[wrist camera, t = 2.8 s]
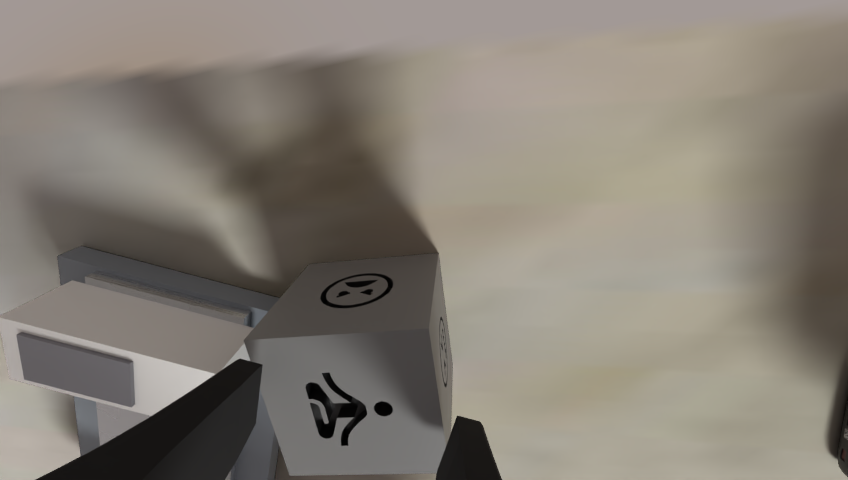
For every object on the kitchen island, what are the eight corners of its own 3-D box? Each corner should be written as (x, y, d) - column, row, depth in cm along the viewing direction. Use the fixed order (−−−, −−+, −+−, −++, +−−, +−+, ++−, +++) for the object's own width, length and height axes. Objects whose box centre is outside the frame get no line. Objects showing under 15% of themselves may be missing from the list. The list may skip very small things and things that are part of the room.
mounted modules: (234, 545, 19) (201, 611, 17) (95, 509, 19) (42, 570, 17) (256, 328, 15) (214, 377, 12) (72, 280, 14) (-8, 319, 12)
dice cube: (309, 263, 15) (243, 339, 11) (438, 251, 15) (428, 328, 10) (336, 369, 17) (289, 475, 12) (452, 363, 16) (450, 472, 12)
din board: (267, 525, 21) (253, 556, 19) (102, 482, 21) (76, 510, 19) (300, 303, 16) (284, 324, 14) (81, 246, 16) (44, 261, 14)
